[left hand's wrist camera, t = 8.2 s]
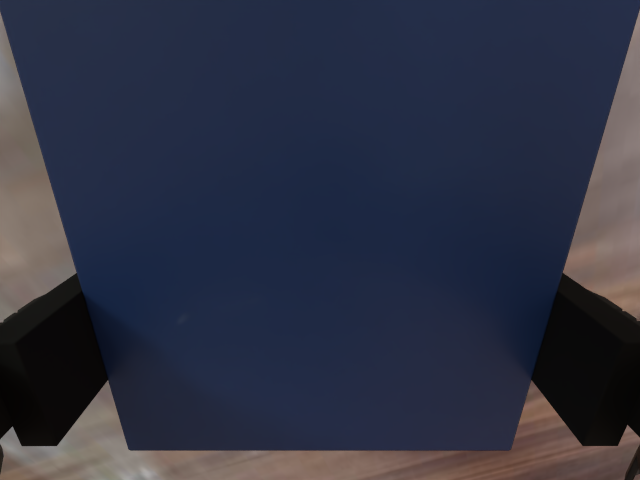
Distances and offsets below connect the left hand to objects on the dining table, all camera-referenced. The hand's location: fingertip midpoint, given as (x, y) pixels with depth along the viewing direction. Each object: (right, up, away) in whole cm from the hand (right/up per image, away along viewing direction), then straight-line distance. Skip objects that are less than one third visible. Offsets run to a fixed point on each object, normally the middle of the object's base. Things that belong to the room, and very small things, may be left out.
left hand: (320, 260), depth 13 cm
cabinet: (0, +6, +5) cm, 7 cm away
